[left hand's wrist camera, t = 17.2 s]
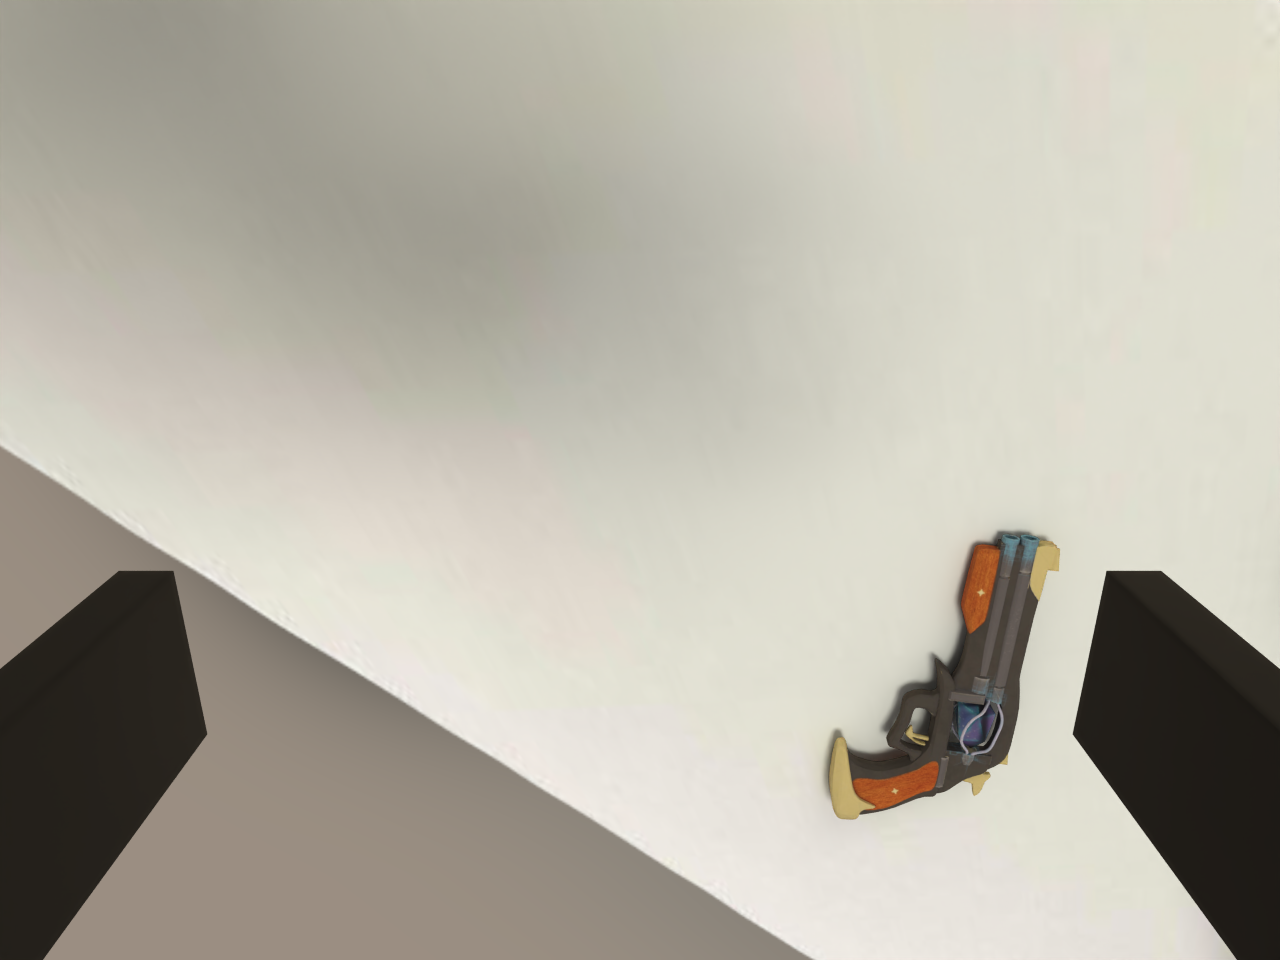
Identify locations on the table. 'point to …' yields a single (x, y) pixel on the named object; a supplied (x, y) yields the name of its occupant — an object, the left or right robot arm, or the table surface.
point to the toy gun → (959, 690)
